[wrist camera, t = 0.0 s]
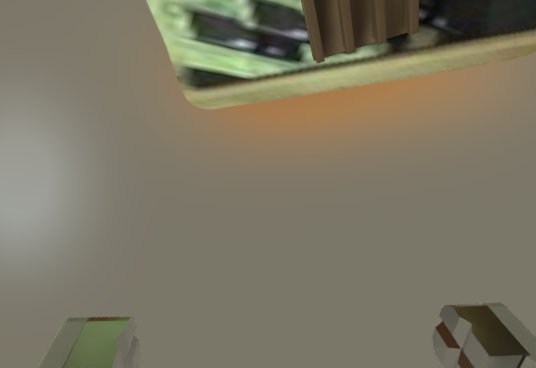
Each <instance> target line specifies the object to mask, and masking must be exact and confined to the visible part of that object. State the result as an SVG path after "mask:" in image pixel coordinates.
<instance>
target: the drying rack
mask: <svg viewBox="0 0 536 368" xmlns="http://www.w3.org/2000/svg"><path fill="white" fill-rule="evenodd" d="M301 2H302V7H303V12H304V17H305V22H306V27H307V31H308V36H309V41H310V46H311V51H312V56H313V59H314V61H317V63H320V62H323V61H325V60H324V58H325V57H329V56H332V55H335V54H339V53H342V52H345V51H346V53H347V54H350V53H353V52H355V48H358V47H362V46H365V45H368V44H371V43H375V42H377V44H378V45H379V44H383V43H386V39H388V38H391V37H394V36H398V35H401V34H404V33H407V32H408V33H409V34H410V35H412V34H416V33H418V22H419V0H301Z"/></svg>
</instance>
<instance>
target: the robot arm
mask: <svg viewBox="0 0 536 368" xmlns="http://www.w3.org/2000/svg"><path fill="white" fill-rule="evenodd" d="M440 318H441V319H442V322H441V323H440V324H439V325H438V326H436V327H435V329H434V333H433V346H434V350H435V353H436V355H437V357H438V359H439V361H440V362H441V364H442V365H443V366H445V367H446V368H536V337H535V336H534V335H533V334H532V333H531V332H530V331H529V330H528V329H527V328H526V327H525V326H524V325H523V323H522V322H521V321H520V320H519V319H518V318H517V317H516V316H515V315H514V314H513V313H512V312H511V311H510V310H509V309H508V307H506V306H505V305H503V304H501V303H483V304H457V305H445V306H444V307H443V308H442V310H441V312H440ZM135 330H136V323H135V319H134V317H90V318H69V319H67V321H65V322H64V323H63V325H62V326H61V328H60V330H59V332H58V334H57V335H56V337H55V339H54V340H53V342H52V344H51V346H50V347H49V349H48V351H47V353H46V354H45V356H44V358H43V360H42V361H41V363H40V365H39V367H38V368H138V367H139V359H140V345H139V340H138V339H137V338H136V337H135V336H134V333H135Z"/></svg>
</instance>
